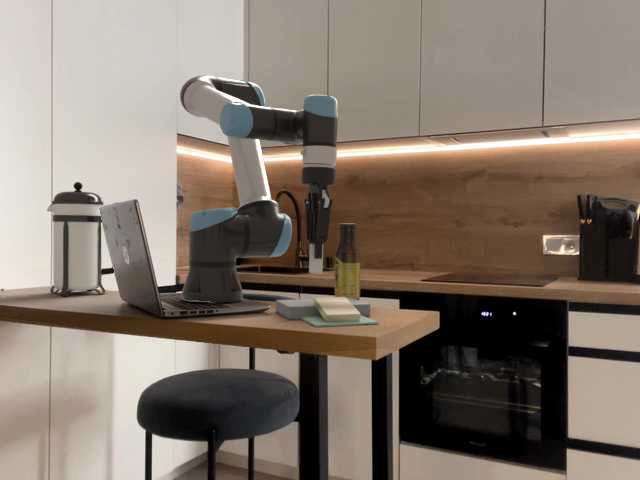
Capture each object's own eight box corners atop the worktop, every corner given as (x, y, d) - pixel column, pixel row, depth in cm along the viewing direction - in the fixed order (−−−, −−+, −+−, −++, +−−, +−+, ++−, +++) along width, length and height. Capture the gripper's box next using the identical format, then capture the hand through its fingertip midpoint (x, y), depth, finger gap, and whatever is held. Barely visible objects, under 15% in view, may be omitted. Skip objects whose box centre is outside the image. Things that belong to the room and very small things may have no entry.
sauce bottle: (338, 301, 148) (339, 223, 148) (362, 303, 146) (363, 223, 146) (331, 304, 142) (332, 223, 141) (356, 306, 140) (357, 223, 139)
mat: (300, 318, 120) (300, 316, 120) (359, 316, 125) (359, 314, 125) (315, 326, 111) (315, 324, 111) (378, 324, 115) (378, 322, 115)
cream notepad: (313, 304, 122) (313, 297, 122) (344, 303, 125) (345, 296, 124) (326, 322, 114) (327, 315, 114) (359, 320, 116) (360, 313, 116)
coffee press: (91, 298, 148) (91, 179, 148) (34, 296, 151) (34, 179, 151) (125, 290, 166) (126, 184, 165) (74, 288, 168) (74, 184, 168)
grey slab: (276, 311, 130) (276, 300, 130) (351, 308, 136) (351, 297, 136) (289, 319, 120) (289, 306, 120) (370, 315, 125) (370, 304, 125)
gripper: (294, 167, 134) (291, 269, 136) (311, 164, 122) (308, 276, 123) (325, 169, 137) (322, 269, 138) (345, 166, 125) (341, 276, 126)
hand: (315, 272), depth 131 cm, fingers closed
